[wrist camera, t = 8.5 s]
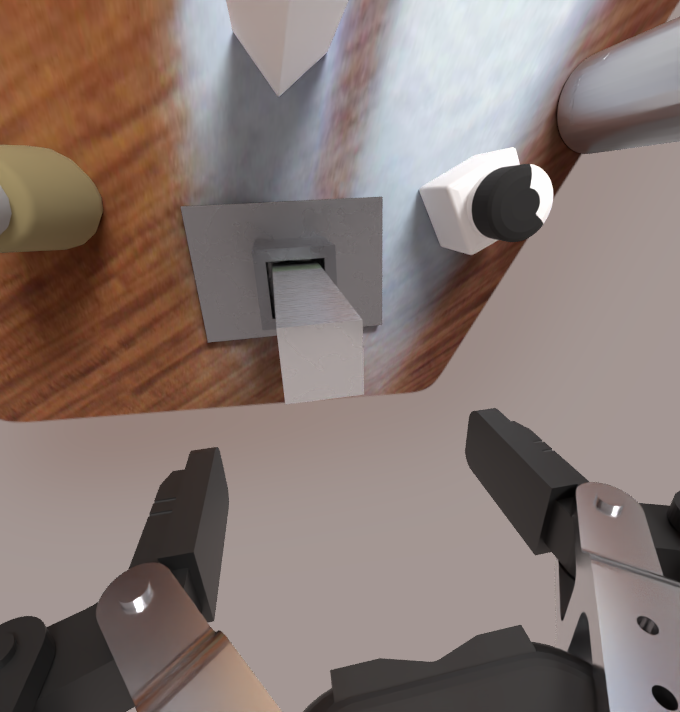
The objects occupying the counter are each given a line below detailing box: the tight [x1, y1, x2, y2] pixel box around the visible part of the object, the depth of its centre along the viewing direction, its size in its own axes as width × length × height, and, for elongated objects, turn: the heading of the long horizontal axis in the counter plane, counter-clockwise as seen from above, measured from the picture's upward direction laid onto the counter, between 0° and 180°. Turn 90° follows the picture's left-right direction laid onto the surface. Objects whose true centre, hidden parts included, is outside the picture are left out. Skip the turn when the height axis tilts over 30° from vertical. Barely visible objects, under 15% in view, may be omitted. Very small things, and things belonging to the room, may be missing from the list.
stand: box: [181, 197, 382, 342], centre depth 36 cm, size 20×14×10 cm
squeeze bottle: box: [0, 145, 103, 253], centre depth 26 cm, size 8×8×18 cm
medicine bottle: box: [419, 147, 553, 255], centre depth 35 cm, size 7×7×12 cm
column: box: [272, 260, 364, 404], centre depth 26 cm, size 4×4×18 cm
